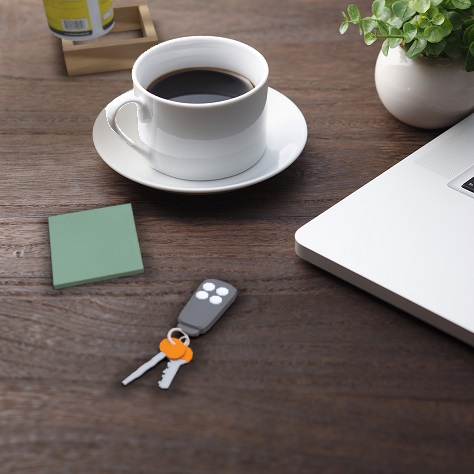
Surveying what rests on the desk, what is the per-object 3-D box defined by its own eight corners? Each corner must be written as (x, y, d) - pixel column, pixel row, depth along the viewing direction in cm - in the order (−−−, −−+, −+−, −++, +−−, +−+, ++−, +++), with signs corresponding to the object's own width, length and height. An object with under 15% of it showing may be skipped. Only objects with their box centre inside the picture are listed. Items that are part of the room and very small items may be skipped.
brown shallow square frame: (62, 34, 110) (57, 9, 108) (149, 24, 113) (146, 0, 111) (68, 76, 102) (63, 51, 100) (161, 65, 105) (158, 40, 103)
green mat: (49, 221, 81) (47, 216, 81) (131, 207, 84) (130, 202, 83) (54, 290, 74) (53, 285, 74) (144, 273, 77) (143, 268, 76)
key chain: (204, 284, 76) (203, 272, 75) (240, 296, 75) (239, 284, 74) (121, 385, 67) (118, 374, 66) (161, 401, 66) (158, 389, 65)
